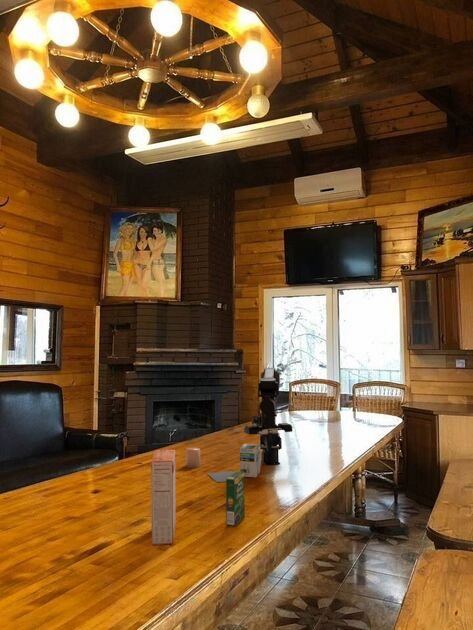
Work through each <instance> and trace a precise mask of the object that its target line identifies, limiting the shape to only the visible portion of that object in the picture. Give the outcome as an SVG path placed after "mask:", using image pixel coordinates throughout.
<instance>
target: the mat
mask: <svg viewBox="0 0 473 630" xmlns="http://www.w3.org/2000/svg"><path fill="white" fill-rule="evenodd" d="M235 472H236V471H235V470H229V471H218V472H211V473H210V472H208V473H206V475H207V476H208V477H210V478H211V479H212V480H213V481H214V482H216V483H217V484H218V483H226V479H227V478H228V477H230V476H231V475H233V474H234V473H235ZM245 480H246V478H244V481H245Z"/></svg>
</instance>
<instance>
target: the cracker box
mask: <svg viewBox="0 0 473 630" xmlns="http://www.w3.org/2000/svg"><path fill="white" fill-rule="evenodd" d="M150 480H151V481H150V483H151V484H150V486H151V487H150V488H151V489H150V490H151V492H150V493H151V495H150V496H151V497H150V503H151V504H150V505H151V507H150V508H151V509H150V510H151V512H150V514H151V515H150V516H151V545H152V546H158V545H159V546H161V545H174V544H175V535H176V534H175V533H176V519H177V517H176V514H177V513H176V512H177V511H176V509H177V507H176V450H175V449H156V450H154V453H153V456H152V459H151V462H150Z"/></svg>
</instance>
